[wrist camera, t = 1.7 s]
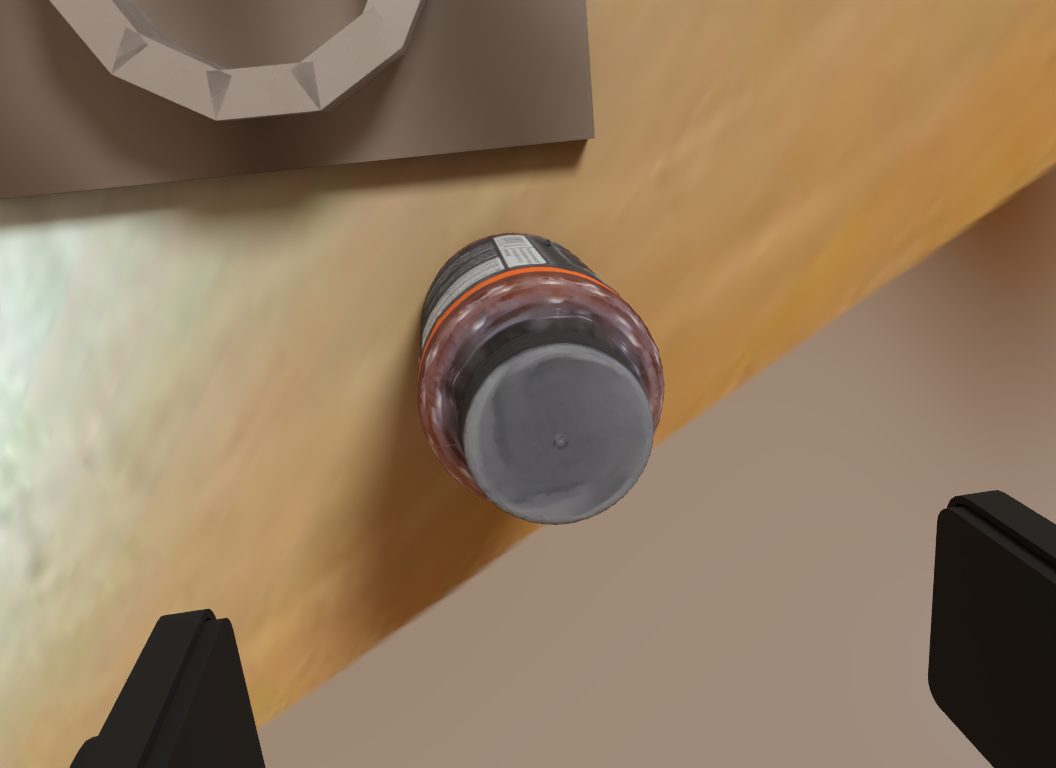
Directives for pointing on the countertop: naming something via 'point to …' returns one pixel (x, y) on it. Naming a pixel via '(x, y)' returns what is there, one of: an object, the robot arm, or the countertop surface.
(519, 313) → the supplement bottle
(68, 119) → the holder board
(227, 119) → the steel collar
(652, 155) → the countertop surface
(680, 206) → the countertop surface
